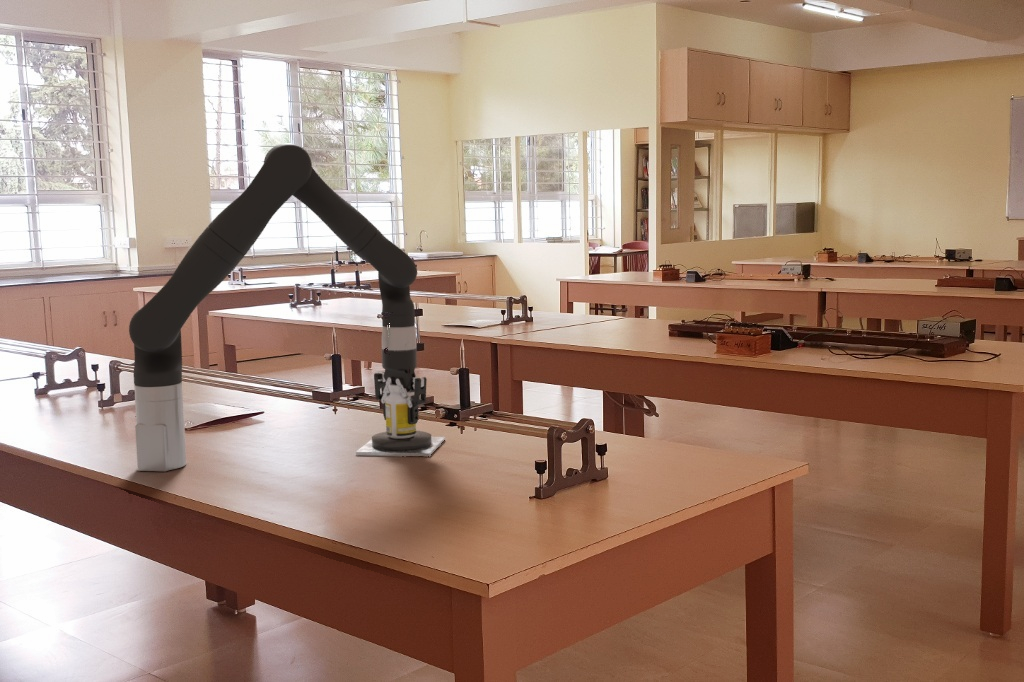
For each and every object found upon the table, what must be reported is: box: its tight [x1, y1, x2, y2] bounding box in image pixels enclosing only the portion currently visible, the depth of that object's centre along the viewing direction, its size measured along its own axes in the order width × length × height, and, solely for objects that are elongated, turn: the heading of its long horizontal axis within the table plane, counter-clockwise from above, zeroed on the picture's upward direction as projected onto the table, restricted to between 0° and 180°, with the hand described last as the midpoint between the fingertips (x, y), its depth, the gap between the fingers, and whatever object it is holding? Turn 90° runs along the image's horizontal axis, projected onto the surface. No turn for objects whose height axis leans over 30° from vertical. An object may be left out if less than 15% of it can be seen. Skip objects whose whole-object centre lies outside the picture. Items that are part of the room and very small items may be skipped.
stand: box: [355, 430, 446, 458], centre depth 219 cm, size 16×16×2 cm
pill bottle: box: [385, 384, 417, 439], centre depth 218 cm, size 6×6×12 cm
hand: (400, 421), depth 218 cm, fingers open, 6 cm apart
